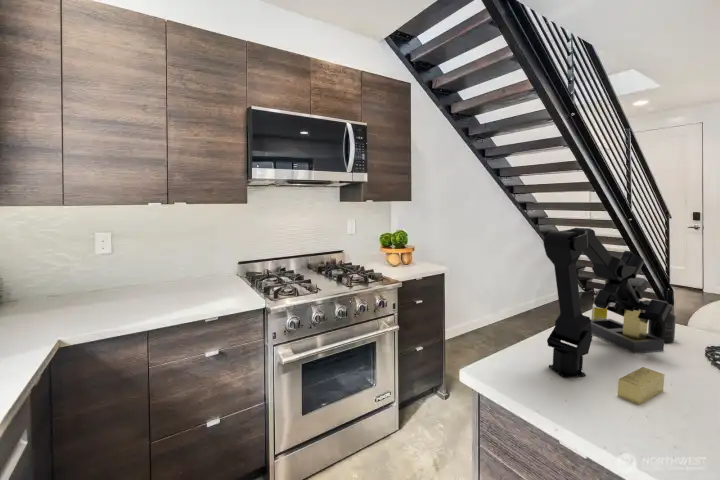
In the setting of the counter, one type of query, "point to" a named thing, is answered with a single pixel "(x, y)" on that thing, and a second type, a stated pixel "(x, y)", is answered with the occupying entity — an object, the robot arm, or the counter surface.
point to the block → (640, 385)
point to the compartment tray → (614, 335)
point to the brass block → (634, 326)
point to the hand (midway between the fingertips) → (637, 319)
